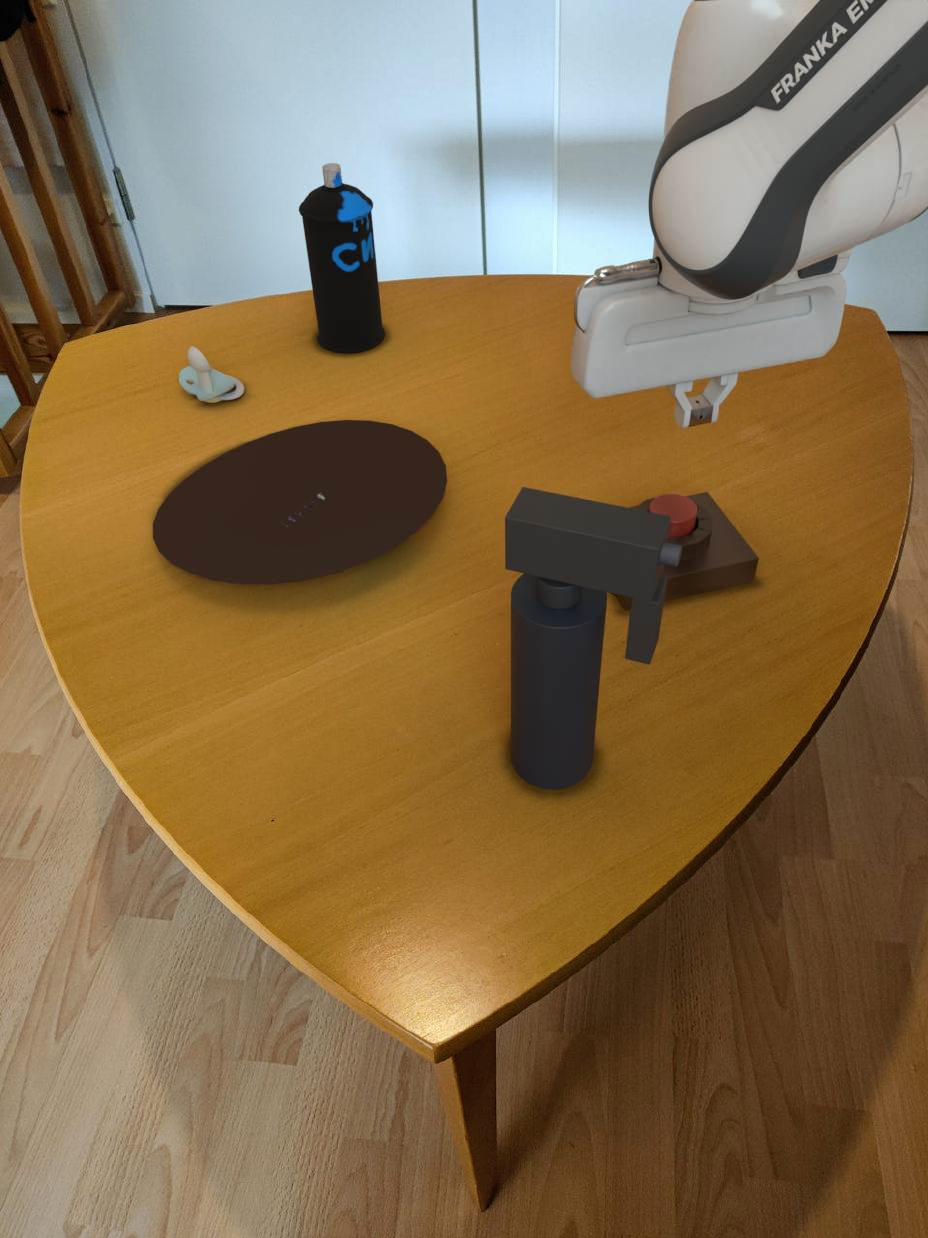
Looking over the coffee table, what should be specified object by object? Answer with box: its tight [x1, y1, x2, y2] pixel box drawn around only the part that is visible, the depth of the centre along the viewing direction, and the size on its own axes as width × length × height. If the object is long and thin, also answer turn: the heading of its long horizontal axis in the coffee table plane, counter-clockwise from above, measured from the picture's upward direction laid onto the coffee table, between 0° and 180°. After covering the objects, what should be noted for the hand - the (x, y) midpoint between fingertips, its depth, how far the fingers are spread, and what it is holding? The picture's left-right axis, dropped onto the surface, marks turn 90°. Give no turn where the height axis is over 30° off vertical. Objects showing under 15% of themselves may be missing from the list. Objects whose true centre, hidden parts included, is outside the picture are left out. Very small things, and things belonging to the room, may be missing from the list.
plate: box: [152, 419, 448, 585], centre depth 94 cm, size 28×28×4 cm
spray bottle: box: [504, 486, 682, 790], centre depth 65 cm, size 10×6×22 cm, turn 69°
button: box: [649, 493, 697, 537], centre depth 85 cm, size 4×4×2 cm
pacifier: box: [178, 345, 245, 404], centre depth 110 cm, size 7×6×6 cm
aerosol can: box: [298, 162, 386, 354], centre depth 114 cm, size 8×8×20 cm
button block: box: [614, 491, 760, 611], centre depth 87 cm, size 12×10×4 cm
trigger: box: [624, 577, 667, 666], centre depth 61 cm, size 2×2×5 cm
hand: (694, 421), depth 78 cm, fingers closed
